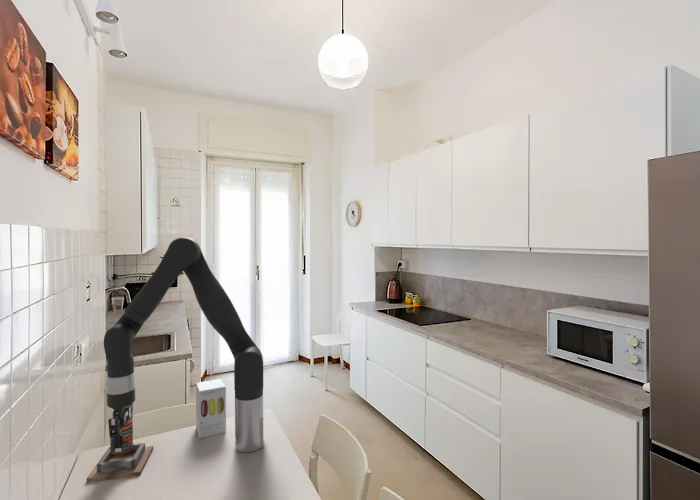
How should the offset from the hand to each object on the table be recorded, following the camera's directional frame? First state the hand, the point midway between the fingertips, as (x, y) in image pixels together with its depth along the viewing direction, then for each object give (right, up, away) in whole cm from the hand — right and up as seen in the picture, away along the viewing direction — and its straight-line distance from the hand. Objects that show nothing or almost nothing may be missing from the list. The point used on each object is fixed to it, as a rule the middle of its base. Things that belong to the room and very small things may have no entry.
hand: (121, 441), depth 115 cm
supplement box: (+20, -7, +21) cm, 30 cm away
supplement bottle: (0, -3, 0) cm, 3 cm away
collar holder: (0, -7, 0) cm, 7 cm away
